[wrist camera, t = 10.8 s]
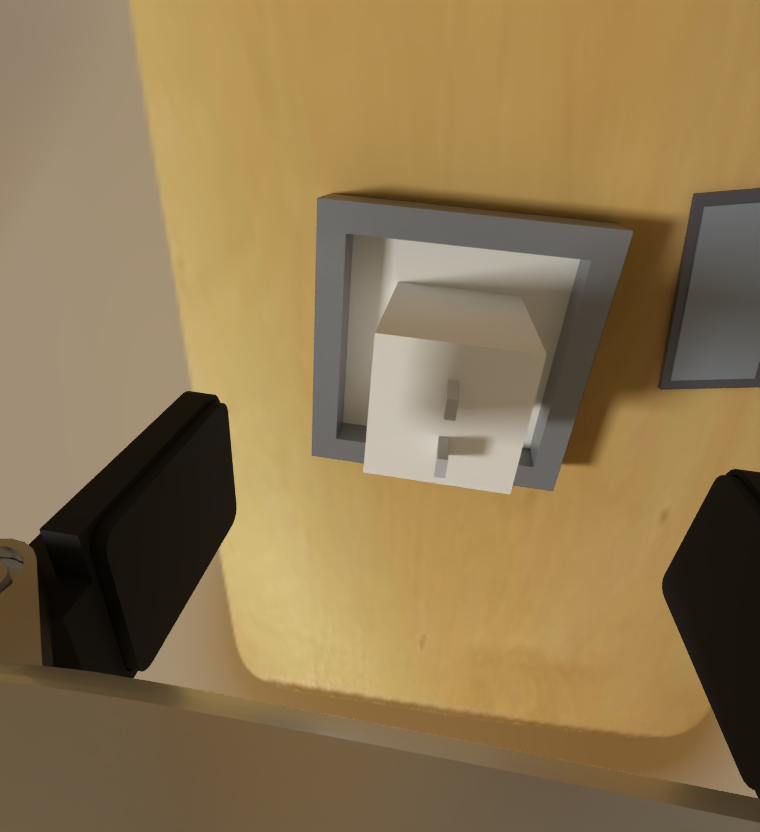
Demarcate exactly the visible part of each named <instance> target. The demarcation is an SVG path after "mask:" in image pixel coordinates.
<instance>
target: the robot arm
mask: <svg viewBox="0 0 760 832" xmlns="http://www.w3.org/2000/svg"><path fill="white" fill-rule="evenodd" d="M235 515H236V496H235V485H234V474H233V463H232V452H231V441H230V430H229V418H228V409H227V406H226V405H225V404H224V403H220V401H219V399H218V397H217V396H216V395H212V394H205V393H198V392H191V391H186V392H185V393H183V394H182V395H181V396H180V397H179V398H178V399H177V400H176V401H175V402H174V403H173V404H172V405H171V406H169V407H168V408H167V409H166V410H165V411H164V412H163V413H162V414H161V415H160V416H159V417H158V418H157V419H156V420H155V421H154V422H153V423H151V424H150V425H149V426H148V427H147V428H146V429H145V430H144V431H143V432H142V433H141V434H140V435H139V436H138V437H137V438H136V439H134V441H132V442H131V443H130V444H129V445H128V446H127V447H126V448H125V449H124V450H123V451H122V452H121V453H120V454H119V455H118V456H116V457H115V458H114V459H113V460H112V461H111V462H110V463H109V464H108V465H107V466H106V467H105V468H104V469H103V470H102V471H101V472H100V473H98V474H97V475H96V476H95V477H94V478H93V479H92V480H91V481H90V482H89V483H88V484H87V485H86V486H85V487H84V488H83V489H82V490H80V492H78V493H77V494H76V495H75V496H74V497H73V498H72V499H71V500H70V501H69V502H68V503H67V504H66V505H65V506H64V507H63V508H61V509H60V510H59V511H58V512H57V513H56V514H55V515H54V516H53V517H52V518H51V519H50V520H49V521H48V522H47V523H46V524H45V525H43V526H42V527H41V528H40V534H39V535H38V536H37V537H36V538H35V539H34V540H33V541H32V542H31V543H30V544H29V545H28V544H26V543H25V542H22V541H18V540H14V539H0V832H760V472H753V471H746V470H739V469H734V470H731V471H729V472H728V473H727V474H726V475H721V476H719V477H718V478H716V480H715V481H714V483H713V485H712V487H711V488H710V490H709V492H708V494H707V496H706V498H705V500H704V502H703V503H702V505H701V507H700V509H699V511H698V513H697V515H696V517H695V519H694V520H693V522H692V524H691V526H690V528H689V530H688V532H687V534H686V535H685V537H684V539H683V541H682V543H681V545H680V547H679V549H678V550H677V552H676V554H675V556H674V558H673V560H672V562H671V564H670V566H669V567H668V569H667V571H666V573H665V575H664V578H663V582H662V590H663V595H664V598H665V600H666V602H667V605H668V607H669V609H670V612H671V614H672V616H673V619H674V621H675V623H676V626H677V628H678V630H679V633H680V635H681V637H682V640H683V642H684V644H685V647H686V649H687V651H688V654H689V656H690V658H691V661H692V663H693V665H694V668H695V670H696V672H697V675H698V677H699V679H700V682H701V684H702V686H703V689H704V691H705V693H706V696H707V698H708V700H709V703H710V705H711V707H712V709H713V711H714V714H715V716H716V719H717V721H718V723H719V726H720V728H721V730H722V733H723V735H724V737H725V740H726V742H727V744H728V747H729V749H730V751H731V754H732V756H733V758H734V761H735V763H736V765H737V768H738V770H739V772H740V775H741V776H742V778H743V780H744V782H745V783H746V784H747V786H748V787H750V788H752V789H753V790H755V791H756V794H757V796H758V798H759V799H758V798H753V797H748V796H743V795H738V794H733V793H728V792H723V791H718V790H713V789H708V788H703V787H698V786H693V785H688V784H683V783H678V782H673V781H668V780H663V779H658V778H653V777H648V776H643V775H638V774H633V773H628V772H623V771H618V770H614V769H608V768H604V767H598V766H593V765H588V764H583V763H578V762H573V761H568V760H563V759H558V758H553V757H547V756H542V755H537V754H532V753H527V752H522V751H517V750H511V749H507V748H501V747H496V746H491V745H485V744H481V743H476V742H471V741H465V740H460V739H455V738H450V737H444V736H440V735H435V734H429V733H424V732H418V731H413V730H409V729H403V728H398V727H393V726H388V725H383V724H378V723H373V722H367V721H362V720H357V719H352V718H346V717H341V716H336V715H330V714H325V713H320V712H315V711H309V710H303V709H299V708H293V707H288V706H283V705H278V704H272V703H267V702H262V701H256V700H251V699H246V698H240V697H235V696H230V695H224V694H219V693H214V692H209V691H204V690H198V689H192V688H186V687H180V686H174V685H169V684H163V683H157V682H151V681H145V680H139V679H133V678H134V676H135V675H136V673H137V671H144V670H146V669H147V668H148V667H149V666H150V665H151V663H152V662H153V660H154V658H155V657H156V655H157V653H158V651H159V650H160V648H161V646H162V645H163V643H164V641H165V639H166V638H167V636H168V634H169V632H170V631H171V629H172V627H173V626H174V624H175V622H176V621H177V619H178V617H179V615H180V614H181V612H182V610H183V609H184V607H185V605H186V603H187V602H188V600H189V598H190V596H191V595H192V593H193V591H194V590H195V588H196V586H197V584H198V583H199V581H200V579H201V578H202V576H203V574H204V572H205V571H206V569H207V567H208V566H209V564H210V562H211V561H212V559H213V557H214V555H215V554H216V552H217V550H218V549H219V547H220V545H221V543H222V542H223V540H224V538H225V537H226V535H227V533H228V531H229V530H230V528H231V526H232V524H233V522H234V519H235Z"/></svg>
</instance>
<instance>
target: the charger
mask: <svg viewBox="0 0 760 832" xmlns="http://www.w3.org/2000/svg"><path fill="white" fill-rule="evenodd" d="M546 356H547V354H546V352H545V349H544V347H543V345H542V343H541V340H540V338H539V336H538V334H537V331H536V329H535V327H534V325H533V322H532V320H531V318H530V316H529V313H528V311H527V309H526V307H525V304H524V302H523V300H522V298H521V296H516V295H507V294H499V293H490V292H482V291H474V290H465V289H457V288H448V287H440V286H431V285H423V284H415V283H406V282H398V283H397V286H396V288H395V290H394V292H393V294H392V297H391V299H390V301H389V303H388V305H387V307H386V310H385V312H384V314H383V316H382V318H381V321H380V323H379V325H378V327H377V329H376V331H375V337H374V349H373V361H372V373H371V385H370V397H369V408H368V420H367V432H366V444H365V456H364V468H363V472H365V473H371V474H378V475H385V476H391V477H398V478H405V479H411V480H418V481H425V482H431V483H438V484H444V485H451V486H458V487H464V488H471V489H478V490H484V491H491V492H498V493H504V494H511V490H512V486H513V482H514V478H515V475H516V471H517V467H518V463H519V459H520V455H521V452H522V448H523V444H524V440H525V436H526V433H527V429H528V425H529V421H530V417H531V414H532V410H533V406H534V402H535V398H536V395H537V391H538V387H539V383H540V379H541V375H542V372H543V368H544V364H545V360H546Z"/></svg>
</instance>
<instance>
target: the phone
mask: <svg viewBox="0 0 760 832" xmlns="http://www.w3.org/2000/svg"><path fill="white" fill-rule="evenodd" d="M658 387H659V388H660V390H661V389H705V388H749V387H760V188H757V189H744V190H732V191H720V192H708V193H695V194H693V198H692V204H691V209H690V215H689V220H688V226H687V231H686V237H685V242H684V248H683V253H682V259H681V264H680V270H679V275H678V281H677V286H676V292H675V297H674V303H673V308H672V314H671V319H670V325H669V330H668V336H667V341H666V347H665V352H664V358H663V364H662V369H661V375H660V380H659V386H658Z"/></svg>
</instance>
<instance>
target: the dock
mask: <svg viewBox="0 0 760 832" xmlns="http://www.w3.org/2000/svg"><path fill="white" fill-rule="evenodd" d="M633 232H634V231H632V230H630V229H628V228H626V227H623V226H621V225H619V224H617V223H610V222H600V221H591V220H581V219H572V218H562V217H552V216H543V215H533V214H524V213H514V212H504V211H495V210H485V209H475V208H466V207H456V206H447V205H437V204H427V203H418V202H408V201H398V200H389V199H379V198H370V197H360V196H350V195H341V194H328V195H325V196H322V197H319V198H317V234H316V281H315V328H314V375H313V422H312V456H318V457H324V458H331V459H338V460H345V461H352V462H358V463H364V456H365V444H366V432H367V420H368V408H369V397H370V385H371V373H372V361H373V349H374V337H375V331H376V329H377V327H378V325H379V323H380V321H381V318H382V316H383V314H384V312H385V310H386V307H387V305H388V303H389V301H390V299H391V297H392V294H393V292H394V290H395V288H396V286H397V283H398V282H406V283H415V284H423V285H431V286H440V287H448V288H457V289H465V290H474V291H482V292H490V293H499V294H507V295H516V296H521V298H522V300H523V302H524V304H525V307H526V309H527V311H528V313H529V316H530V318H531V320H532V322H533V325H534V327H535V329H536V331H537V334H538V336H539V338H540V340H541V343H542V345H543V347H544V349H545V352H546V354H547V356H546V360H545V364H544V368H543V372H542V375H541V379H540V383H539V387H538V391H537V395H536V398H535V402H534V406H533V410H532V414H531V417H530V421H529V425H528V429H527V433H526V436H525V440H524V444H523V448H522V452H521V455H520V459H519V463H518V467H517V471H516V475H515V478H514V482H513V485H514V486H521V487H527V488H534V489H541V490H548V491H553V490H554V487H555V483H556V480H557V477H558V474H559V471H560V467H561V464H562V461H563V458H564V454H565V451H566V448H567V445H568V442H569V438H570V435H571V432H572V429H573V426H574V422H575V419H576V416H577V413H578V409H579V406H580V403H581V400H582V397H583V393H584V390H585V387H586V384H587V380H588V377H589V374H590V371H591V368H592V364H593V361H594V358H595V355H596V351H597V348H598V345H599V342H600V339H601V335H602V332H603V329H604V326H605V323H606V319H607V316H608V313H609V310H610V306H611V303H612V300H613V297H614V294H615V290H616V287H617V284H618V281H619V277H620V274H621V271H622V268H623V265H624V261H625V258H626V255H627V252H628V248H629V245H630V242H631V239H632V236H633Z"/></svg>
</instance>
